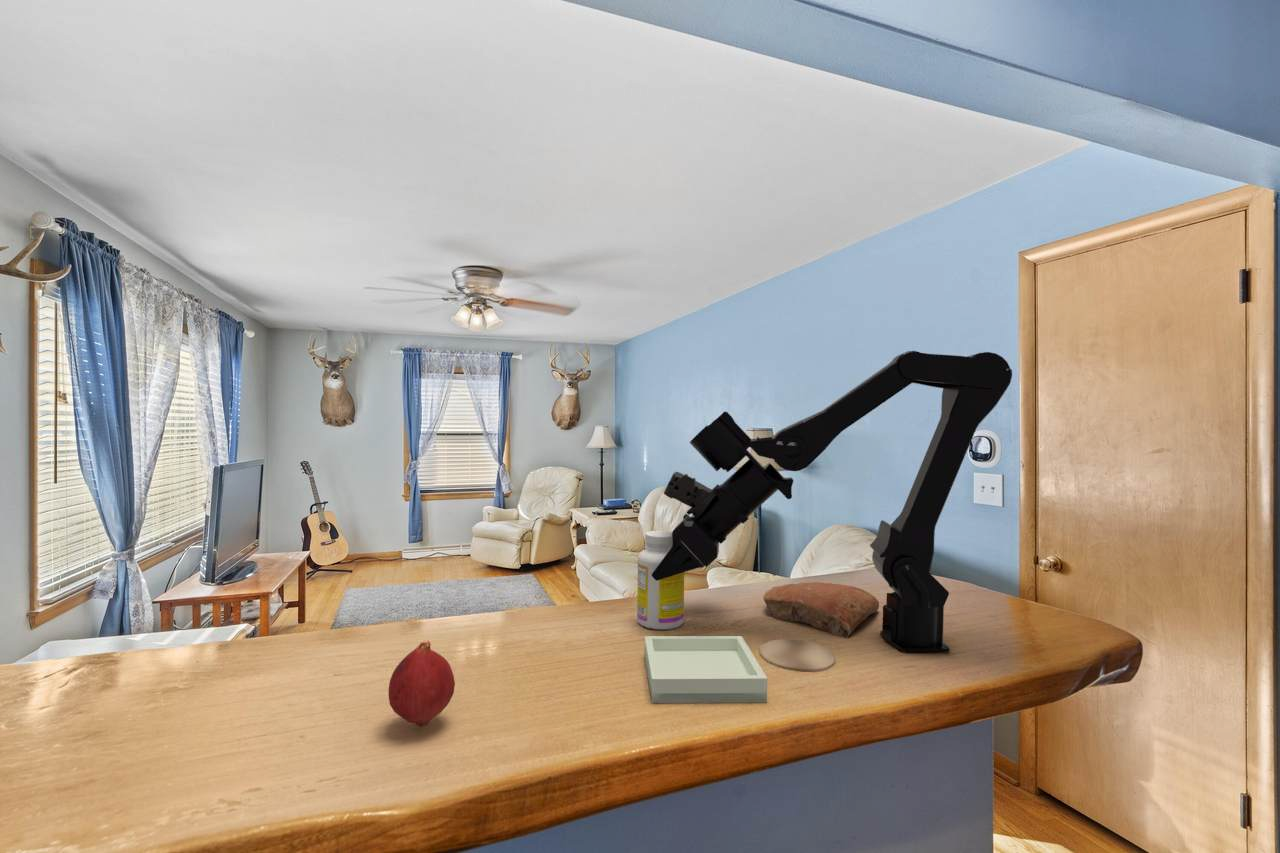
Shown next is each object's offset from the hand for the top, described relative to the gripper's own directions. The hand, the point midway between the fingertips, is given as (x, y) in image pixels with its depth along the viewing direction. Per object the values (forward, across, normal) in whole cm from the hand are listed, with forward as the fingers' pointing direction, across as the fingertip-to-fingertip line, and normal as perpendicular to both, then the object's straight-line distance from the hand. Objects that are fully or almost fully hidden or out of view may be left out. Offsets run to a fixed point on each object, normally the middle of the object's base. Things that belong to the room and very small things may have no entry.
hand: (659, 569), depth 86 cm
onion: (+18, +33, -6) cm, 38 cm away
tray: (0, +17, +11) cm, 20 cm away
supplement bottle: (+5, 0, +6) cm, 8 cm away
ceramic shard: (-10, -10, +22) cm, 26 cm away
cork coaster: (-8, +8, +19) cm, 22 cm away
